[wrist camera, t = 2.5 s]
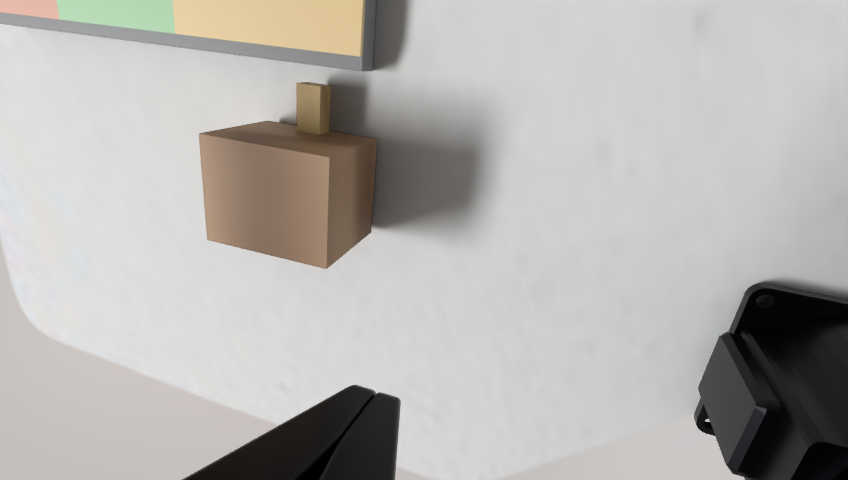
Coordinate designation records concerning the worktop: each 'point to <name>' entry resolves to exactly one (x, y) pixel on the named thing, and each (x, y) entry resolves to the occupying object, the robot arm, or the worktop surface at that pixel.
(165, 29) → the tuner gauge
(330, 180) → the block
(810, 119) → the worktop surface
